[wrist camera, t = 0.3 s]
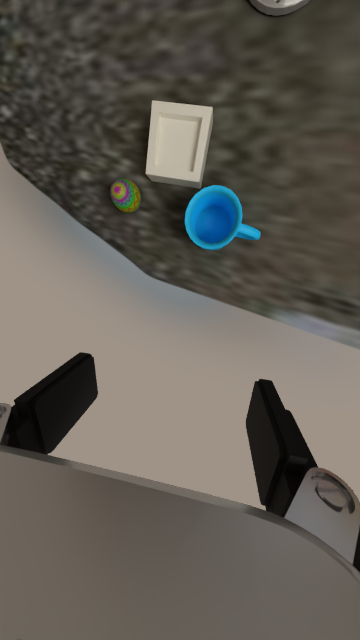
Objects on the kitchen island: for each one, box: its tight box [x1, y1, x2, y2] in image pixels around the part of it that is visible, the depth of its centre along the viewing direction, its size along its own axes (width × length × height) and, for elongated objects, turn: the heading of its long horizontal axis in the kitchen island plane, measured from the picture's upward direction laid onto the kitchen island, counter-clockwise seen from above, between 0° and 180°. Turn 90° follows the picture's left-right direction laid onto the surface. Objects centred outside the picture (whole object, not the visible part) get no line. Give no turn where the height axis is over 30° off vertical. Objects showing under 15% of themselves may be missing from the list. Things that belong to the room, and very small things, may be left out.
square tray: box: [146, 101, 213, 189], centre depth 30 cm, size 9×9×3 cm
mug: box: [185, 185, 261, 250], centre depth 30 cm, size 12×8×8 cm
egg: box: [110, 179, 141, 213], centre depth 32 cm, size 5×5×6 cm
